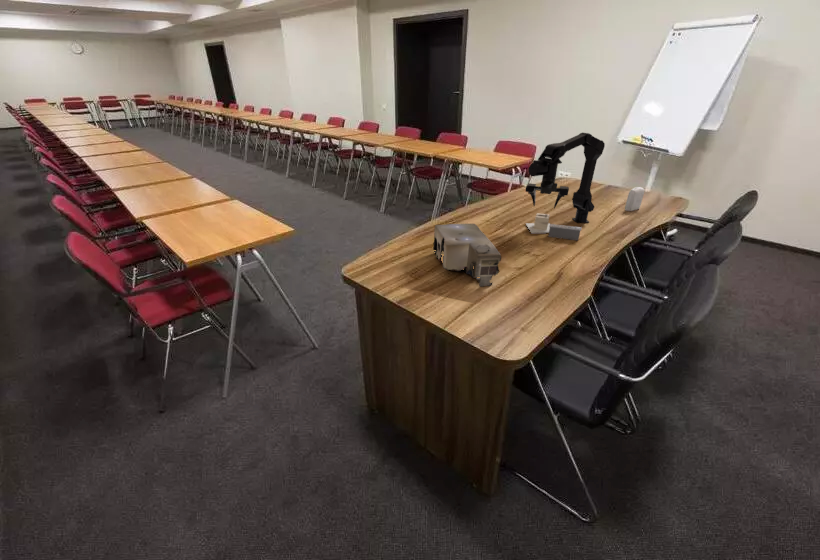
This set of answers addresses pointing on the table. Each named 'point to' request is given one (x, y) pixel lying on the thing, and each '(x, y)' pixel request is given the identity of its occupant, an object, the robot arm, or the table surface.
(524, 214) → the table surface
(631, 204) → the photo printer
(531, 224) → the mat
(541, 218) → the letter cube
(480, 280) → the projector
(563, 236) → the screen
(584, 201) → the robot arm
